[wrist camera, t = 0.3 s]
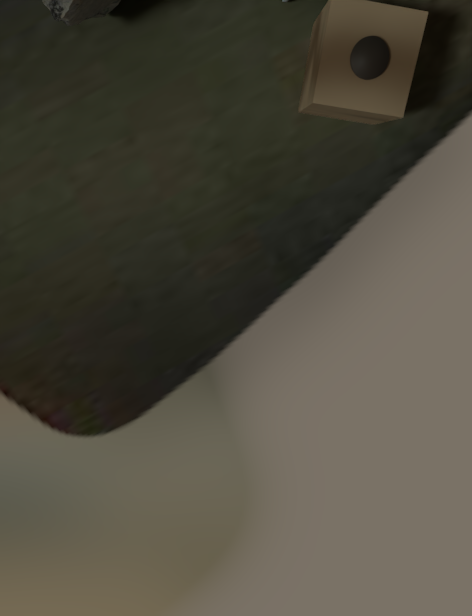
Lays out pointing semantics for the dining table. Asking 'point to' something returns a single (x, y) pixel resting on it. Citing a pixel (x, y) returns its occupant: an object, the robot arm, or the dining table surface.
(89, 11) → the stone
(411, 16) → the oak block
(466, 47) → the dining table surface
